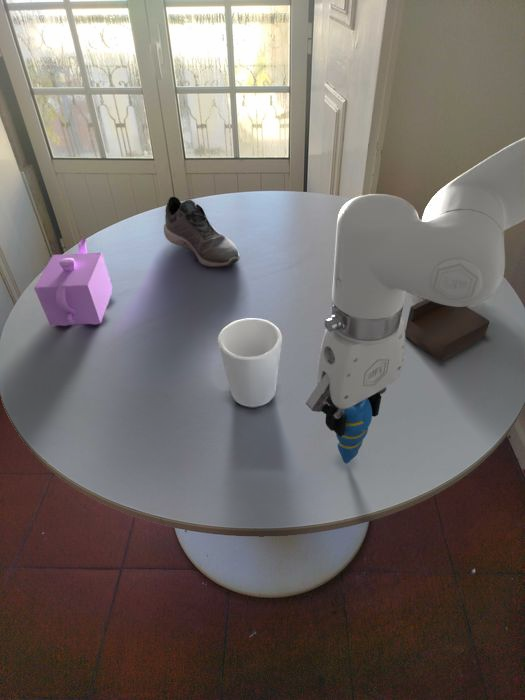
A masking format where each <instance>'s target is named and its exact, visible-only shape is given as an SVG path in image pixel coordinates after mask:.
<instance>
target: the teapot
mask: <svg viewBox="0 0 525 700" xmlns="http://www.w3.org/2000/svg"><path fill="white" fill-rule="evenodd" d="M77 247H78V249H77V253H62V254H53V255H52V256H51V258H50V259H49V261H48V262H47V265H46V266H45V268H44V269H43V271H42V272H41V275H40V277H39V278H38V280H37V281H36V283H35V285H34V287H33V288H34V291H35V294H36V296H37V298H38V301H39V303H40V305H41V308H42V310H43V312H44V315H45V317H46V319H47V322H48V324H49V326H62V327H68V326H71V325H72V326H73V325H93V326H94V325H95V326H96V325H99V324H101V323H102V322H103V318H104V316H105V313H106V310H107V307H108V305H109V303H110V300H111V296H112V293H113V291H114V288H113V284H112V281H111V278H110V274H109V271H108V268H107V264H106V261H105V257H104V254H103V253H102V252H88V249H87V239H86V238H82V239H81V240H79V243H78V246H77Z"/></svg>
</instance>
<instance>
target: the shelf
mask: <svg viewBox="0 0 525 700" xmlns="http://www.w3.org/2000/svg"><path fill="white" fill-rule="evenodd" d="M490 323H491V320H489V318H486V317H485V316H483V315H481V314H479V313H478V312H476V311H474V310H473V309H471V308H469V306H468V307H454V306H447V305H443V304H439V303H436V302H433V301H430V300H427V299H424V300H422V301H419V302H417V303H414V304H413V305H411V306H410V307H409V313H408V317H407V321H406V325H405V338H407V339H409V340H410V341H411V342H413V344H415V345H416V346H418V347H419V348H421V349H422V350H423V351H424V352H426V353H428V354H429V355H430V356H432V357H433V358H434V359H436V360H437V361H439V363H441V362H443V361H445V360H447V359H448V358H450V357H452V356H453V355H455V354H457V353H459V352H461V351H463V350H464V349H466V348H468V347H470V346H472V345H473V344H475V343H477V342H479V341H480V340H482V339H485V336H486V334H487V332H488V329H489V325H490Z"/></svg>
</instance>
